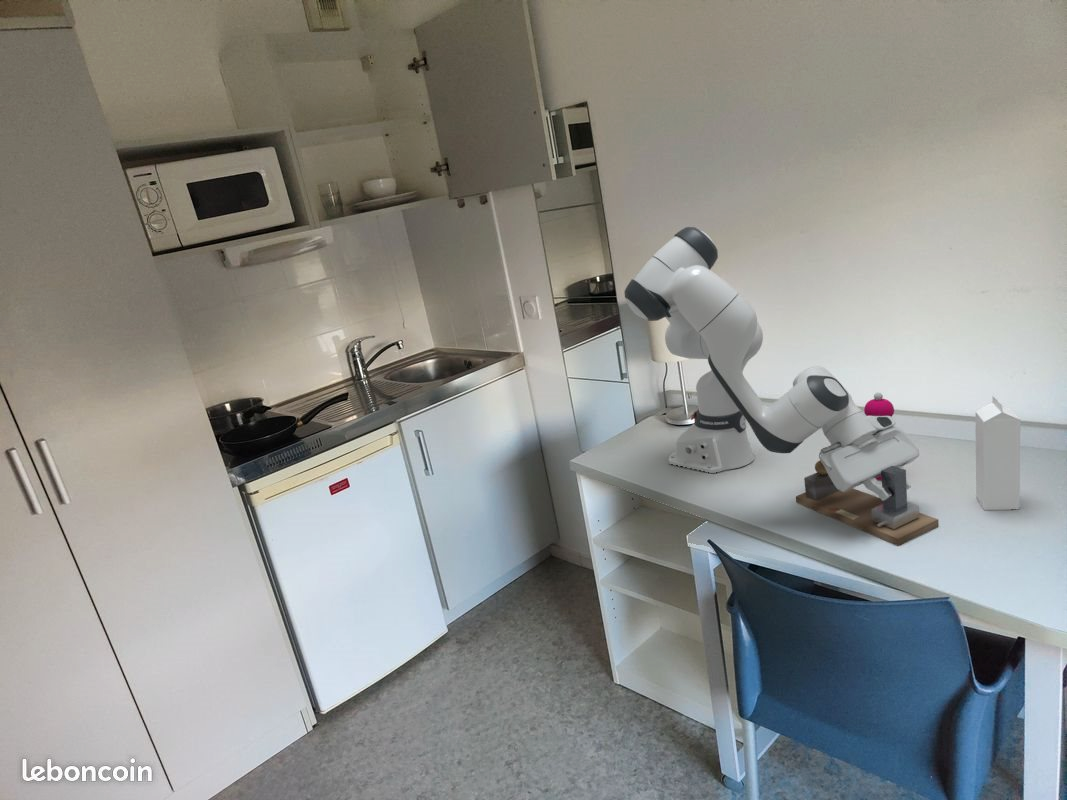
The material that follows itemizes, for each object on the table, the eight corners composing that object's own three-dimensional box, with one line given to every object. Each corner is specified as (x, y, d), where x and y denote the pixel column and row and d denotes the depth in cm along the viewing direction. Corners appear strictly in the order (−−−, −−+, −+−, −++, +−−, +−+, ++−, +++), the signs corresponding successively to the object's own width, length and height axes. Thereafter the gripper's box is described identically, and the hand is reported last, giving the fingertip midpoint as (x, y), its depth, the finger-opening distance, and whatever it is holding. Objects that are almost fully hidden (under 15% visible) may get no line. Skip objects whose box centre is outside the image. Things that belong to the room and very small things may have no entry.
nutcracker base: (796, 502, 153) (792, 464, 150) (832, 486, 157) (830, 449, 154) (898, 545, 130) (896, 502, 127) (938, 526, 133) (937, 483, 131)
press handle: (868, 522, 136) (865, 474, 133) (897, 508, 139) (895, 461, 136) (889, 531, 132) (887, 481, 129) (919, 517, 134) (917, 468, 132)
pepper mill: (904, 479, 154) (900, 395, 148) (869, 482, 155) (864, 399, 150) (894, 467, 160) (891, 386, 155) (861, 469, 162) (856, 389, 157)
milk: (984, 510, 136) (983, 406, 130) (976, 497, 141) (975, 396, 135) (1019, 509, 134) (1020, 403, 128) (1009, 496, 139) (1010, 393, 133)
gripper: (822, 443, 133) (867, 505, 127) (897, 414, 140) (943, 470, 134) (807, 458, 139) (849, 518, 132) (879, 429, 146) (923, 484, 140)
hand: (897, 494), depth 133 cm, fingers open, 4 cm apart
